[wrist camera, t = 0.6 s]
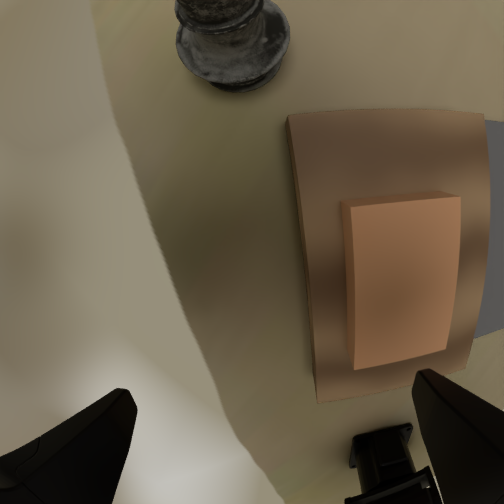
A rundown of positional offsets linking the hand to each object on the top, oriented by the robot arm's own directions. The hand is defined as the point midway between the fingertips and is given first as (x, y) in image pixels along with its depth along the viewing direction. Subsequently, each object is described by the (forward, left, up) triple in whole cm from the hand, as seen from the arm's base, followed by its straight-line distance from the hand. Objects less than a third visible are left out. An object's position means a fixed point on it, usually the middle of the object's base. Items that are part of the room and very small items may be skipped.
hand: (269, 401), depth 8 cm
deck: (0, -8, -12) cm, 14 cm away
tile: (0, -7, -9) cm, 11 cm away
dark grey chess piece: (+14, 0, -12) cm, 18 cm away
